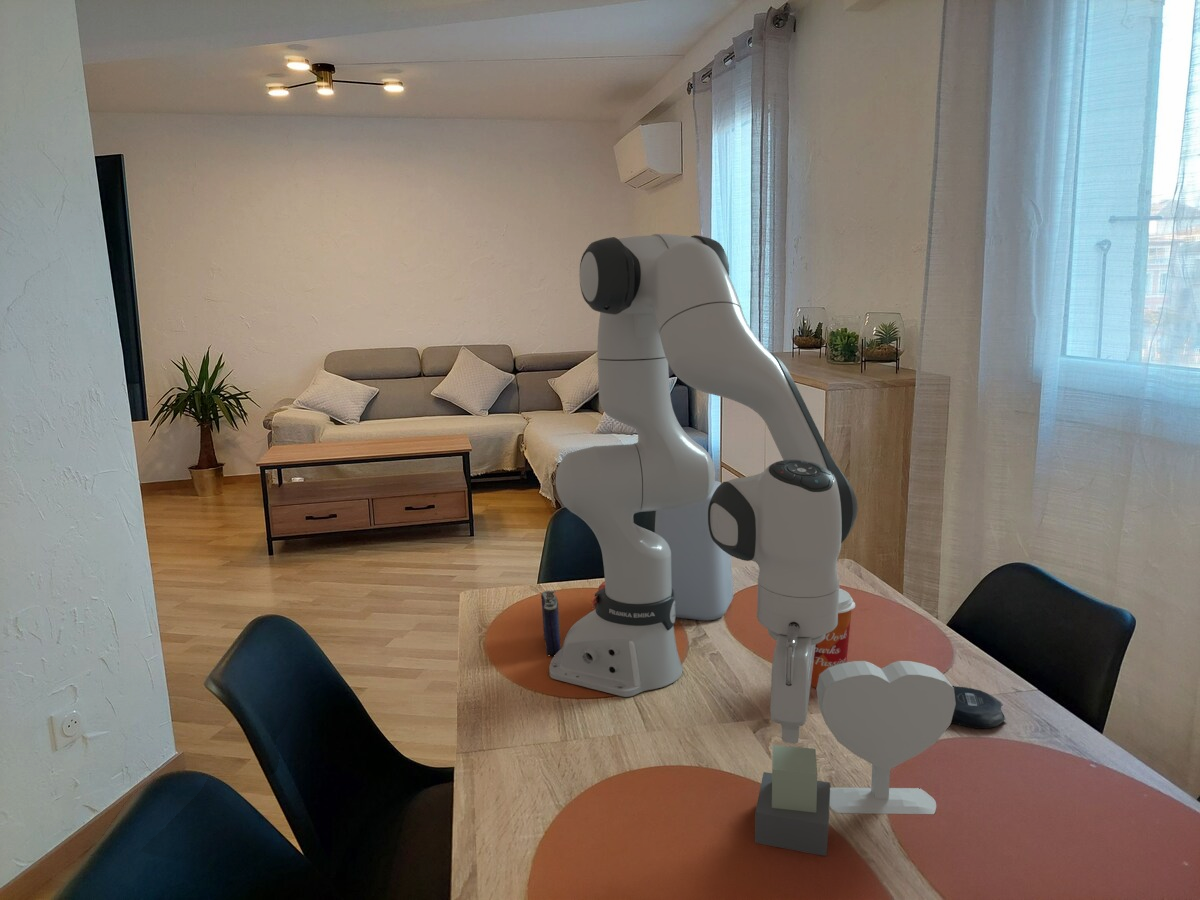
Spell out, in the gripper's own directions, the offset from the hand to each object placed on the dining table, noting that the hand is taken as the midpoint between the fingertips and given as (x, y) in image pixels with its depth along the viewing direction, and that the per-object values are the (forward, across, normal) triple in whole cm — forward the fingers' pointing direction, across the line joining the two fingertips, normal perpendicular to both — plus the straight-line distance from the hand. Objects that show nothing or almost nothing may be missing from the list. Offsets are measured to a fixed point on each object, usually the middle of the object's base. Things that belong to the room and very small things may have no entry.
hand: (793, 716), depth 92 cm
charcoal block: (+14, -1, 0) cm, 14 cm away
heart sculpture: (+14, +7, -10) cm, 19 cm away
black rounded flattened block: (+15, +32, -20) cm, 41 cm away
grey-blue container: (+16, +62, +24) cm, 68 cm away
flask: (+16, +38, +46) cm, 61 cm away
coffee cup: (+15, +36, -2) cm, 39 cm away
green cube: (+10, 0, 0) cm, 10 cm away
